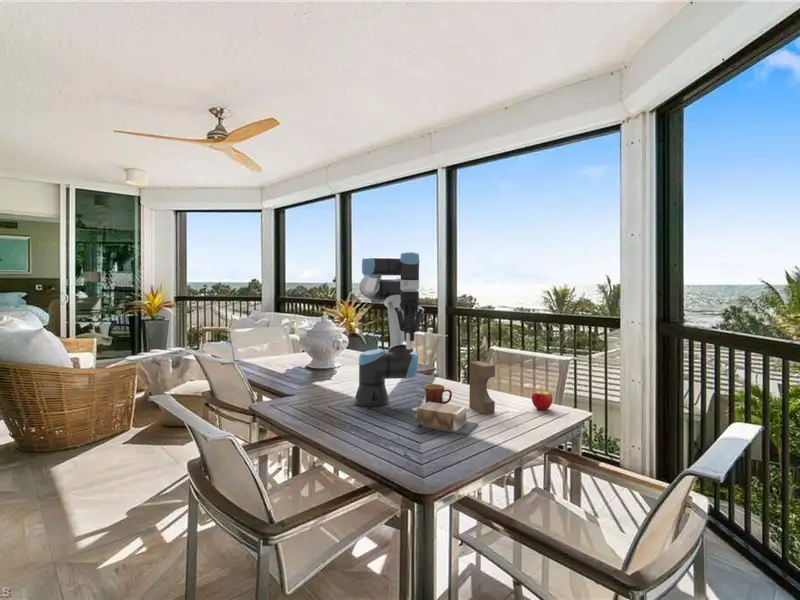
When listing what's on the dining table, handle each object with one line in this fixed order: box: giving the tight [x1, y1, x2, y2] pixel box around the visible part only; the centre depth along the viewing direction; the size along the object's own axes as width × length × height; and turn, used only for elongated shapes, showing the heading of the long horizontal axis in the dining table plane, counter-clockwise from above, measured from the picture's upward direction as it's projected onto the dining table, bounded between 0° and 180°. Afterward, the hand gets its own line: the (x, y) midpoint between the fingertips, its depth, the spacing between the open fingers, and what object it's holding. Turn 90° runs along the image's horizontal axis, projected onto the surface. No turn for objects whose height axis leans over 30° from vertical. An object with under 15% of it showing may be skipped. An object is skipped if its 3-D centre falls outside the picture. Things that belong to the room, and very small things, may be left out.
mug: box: [423, 383, 453, 404], centre depth 187 cm, size 12×9×10 cm
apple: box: [531, 386, 553, 411], centre depth 190 cm, size 8×8×10 cm
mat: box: [421, 420, 479, 436], centre depth 169 cm, size 18×12×1 cm, turn 61°
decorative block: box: [468, 360, 496, 415], centre depth 188 cm, size 11×6×20 cm, turn 25°
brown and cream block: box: [416, 402, 467, 431], centre depth 169 cm, size 6×10×16 cm
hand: (409, 348), depth 180 cm, fingers closed
